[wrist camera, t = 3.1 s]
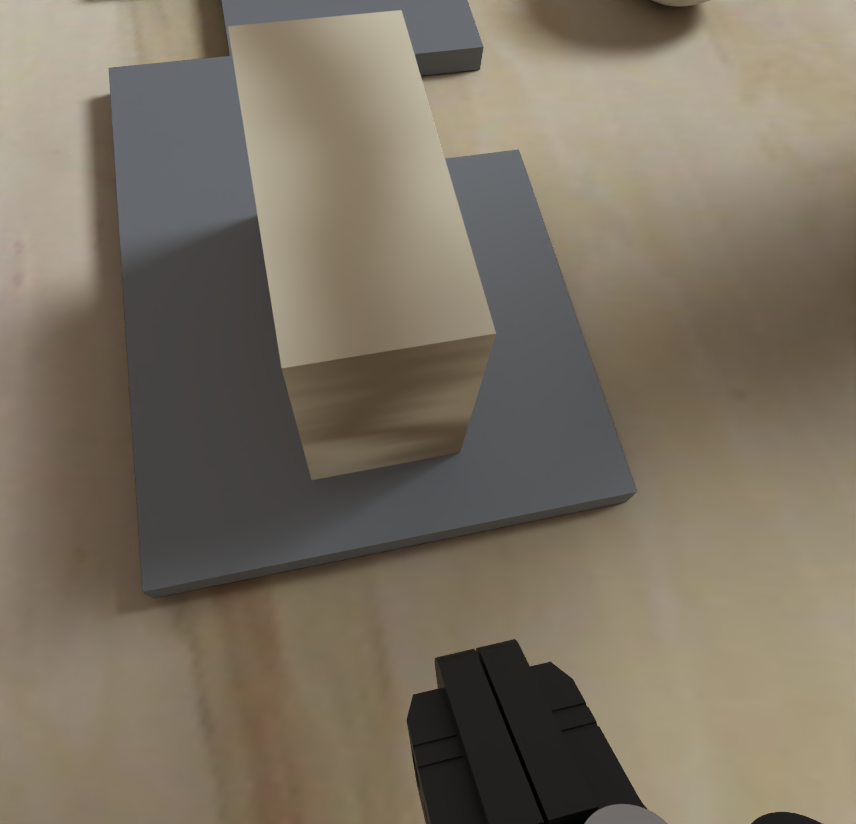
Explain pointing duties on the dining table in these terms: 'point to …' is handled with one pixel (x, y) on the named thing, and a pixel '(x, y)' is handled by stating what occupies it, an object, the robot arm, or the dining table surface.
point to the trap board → (259, 355)
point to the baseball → (680, 2)
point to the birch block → (360, 242)
